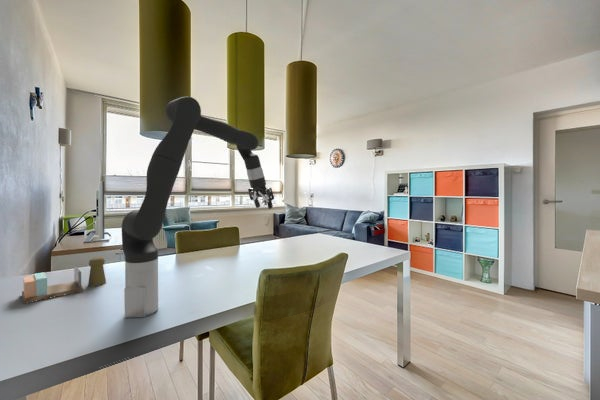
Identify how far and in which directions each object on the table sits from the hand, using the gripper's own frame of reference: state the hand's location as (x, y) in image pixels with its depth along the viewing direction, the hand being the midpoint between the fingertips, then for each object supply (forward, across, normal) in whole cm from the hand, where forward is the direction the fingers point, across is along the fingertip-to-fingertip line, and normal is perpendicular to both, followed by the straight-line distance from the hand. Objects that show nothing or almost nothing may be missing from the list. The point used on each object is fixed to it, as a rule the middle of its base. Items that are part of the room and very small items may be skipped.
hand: (264, 207), depth 131 cm
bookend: (+5, -41, -70) cm, 81 cm away
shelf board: (+4, -42, -77) cm, 88 cm away
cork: (+9, -40, -65) cm, 77 cm away
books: (+1, -42, -81) cm, 92 cm away
